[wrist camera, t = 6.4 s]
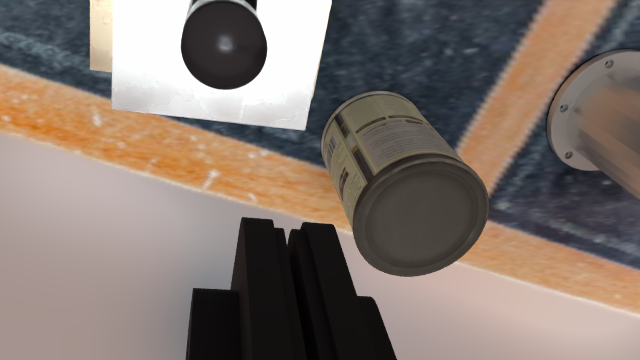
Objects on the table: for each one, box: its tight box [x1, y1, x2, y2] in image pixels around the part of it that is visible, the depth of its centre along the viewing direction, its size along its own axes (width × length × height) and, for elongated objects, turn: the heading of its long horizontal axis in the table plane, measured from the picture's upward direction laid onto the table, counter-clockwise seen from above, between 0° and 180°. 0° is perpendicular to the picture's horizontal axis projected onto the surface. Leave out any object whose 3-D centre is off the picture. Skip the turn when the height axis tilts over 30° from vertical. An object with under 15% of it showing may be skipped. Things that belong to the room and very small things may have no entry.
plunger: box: [181, 0, 268, 90], centre depth 30 cm, size 7×7×16 cm
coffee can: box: [321, 91, 489, 277], centre depth 46 cm, size 10×10×14 cm
